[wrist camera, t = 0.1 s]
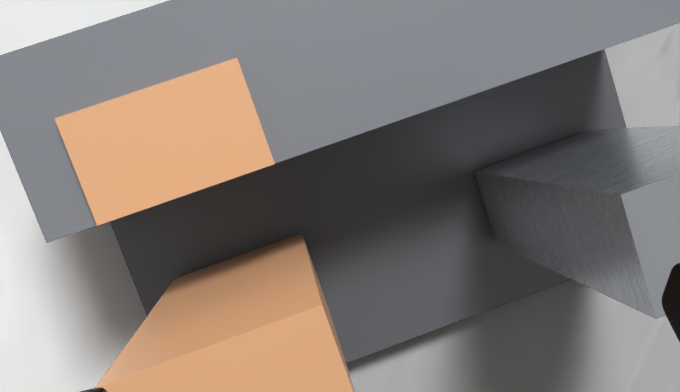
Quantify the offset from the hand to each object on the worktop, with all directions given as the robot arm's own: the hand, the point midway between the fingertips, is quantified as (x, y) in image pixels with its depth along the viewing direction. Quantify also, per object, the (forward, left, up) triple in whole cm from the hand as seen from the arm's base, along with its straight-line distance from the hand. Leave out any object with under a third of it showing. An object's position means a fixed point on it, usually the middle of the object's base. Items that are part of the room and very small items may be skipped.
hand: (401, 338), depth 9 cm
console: (0, -3, -15) cm, 15 cm away
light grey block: (-4, -7, -14) cm, 16 cm away
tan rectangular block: (0, +4, -14) cm, 14 cm away
